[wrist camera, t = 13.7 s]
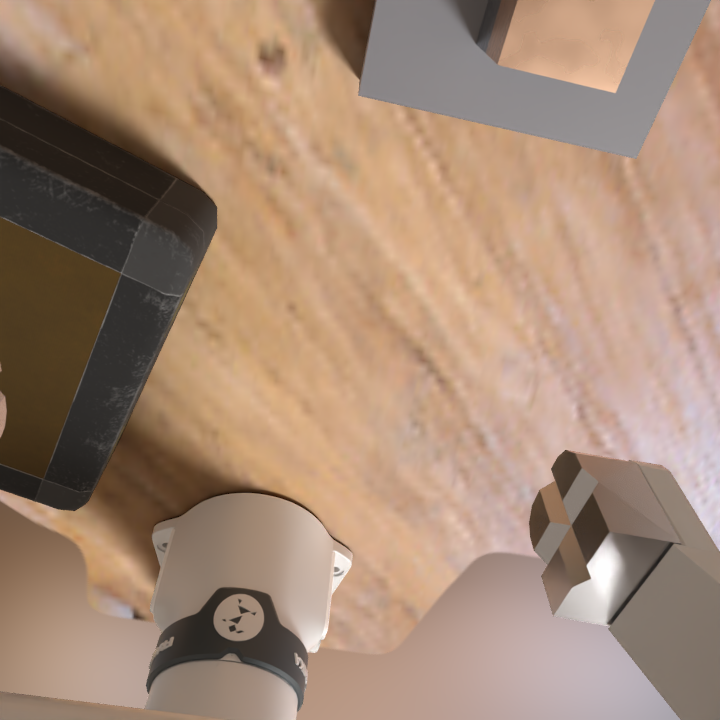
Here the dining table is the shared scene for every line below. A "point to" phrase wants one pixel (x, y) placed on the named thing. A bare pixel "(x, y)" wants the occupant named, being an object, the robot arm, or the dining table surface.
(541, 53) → the block
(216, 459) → the dining table surface
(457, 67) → the stand
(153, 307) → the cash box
